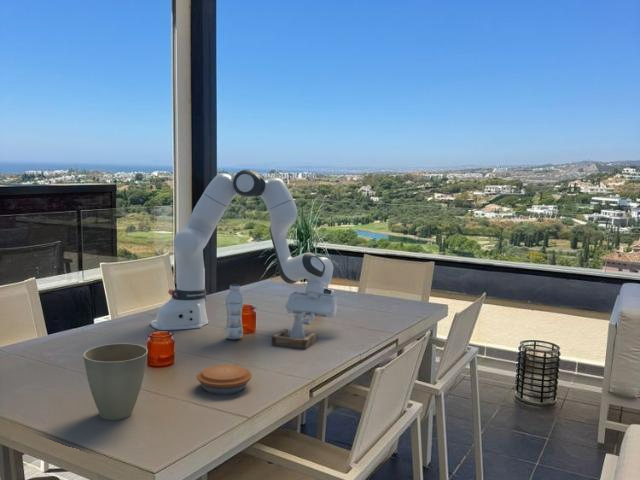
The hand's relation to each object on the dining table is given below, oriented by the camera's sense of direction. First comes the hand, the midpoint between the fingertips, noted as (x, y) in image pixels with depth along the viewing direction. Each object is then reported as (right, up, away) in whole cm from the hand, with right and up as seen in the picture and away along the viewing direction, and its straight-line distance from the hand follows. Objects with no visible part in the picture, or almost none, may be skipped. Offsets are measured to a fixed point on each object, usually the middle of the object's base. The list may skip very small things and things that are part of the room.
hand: (305, 323), depth 221 cm
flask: (-3, -6, -8) cm, 10 cm away
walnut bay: (-4, -5, -9) cm, 11 cm away
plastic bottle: (-26, -5, -7) cm, 28 cm away
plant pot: (-45, -11, -78) cm, 91 cm away
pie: (-22, -10, -57) cm, 62 cm away
